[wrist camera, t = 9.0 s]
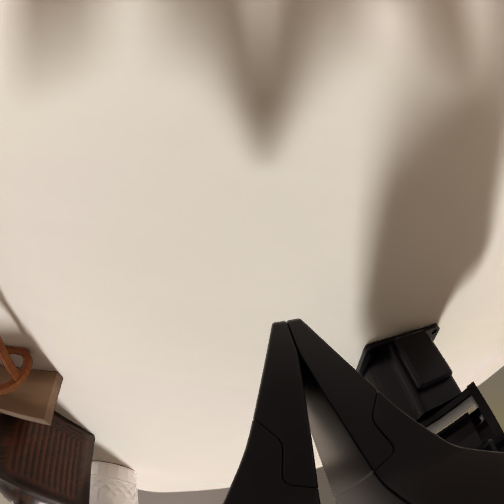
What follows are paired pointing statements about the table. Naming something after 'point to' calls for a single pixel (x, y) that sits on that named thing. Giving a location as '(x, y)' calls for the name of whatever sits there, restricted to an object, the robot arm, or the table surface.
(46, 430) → the coffee grinder
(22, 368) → the glasses
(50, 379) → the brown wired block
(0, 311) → the table surface
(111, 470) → the white cup
